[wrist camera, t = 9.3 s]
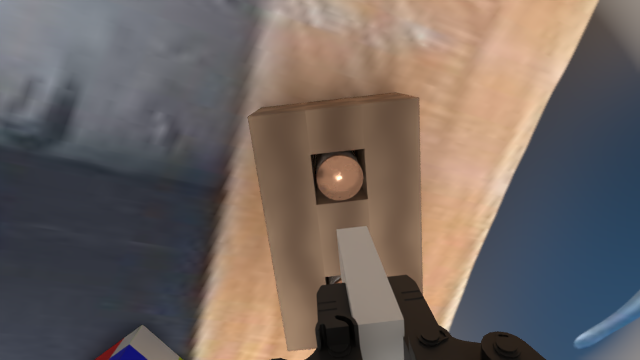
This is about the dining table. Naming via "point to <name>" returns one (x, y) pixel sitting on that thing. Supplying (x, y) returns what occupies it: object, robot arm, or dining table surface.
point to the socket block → (327, 214)
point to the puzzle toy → (139, 348)
